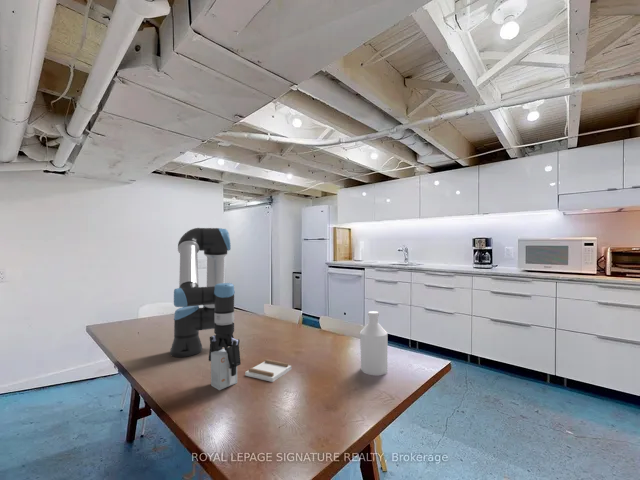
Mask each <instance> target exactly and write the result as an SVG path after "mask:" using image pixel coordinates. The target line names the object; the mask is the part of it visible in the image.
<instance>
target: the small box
mask: <svg viewBox="0 0 640 480" xmlns="http://www.w3.org/2000/svg"><path fill="white" fill-rule="evenodd" d="M233 364H234V363H233ZM229 367H230V363H229V360H228V353H227V352H226V351H225V349H224V348H222V350H219V351H214V352H211V361H210V385H211V387H213V388H215V389H217V390H218V391H221V390H224V389H225V388H228V387H231V386H233V385H235V384H238V366H237V367H236V375H235V383H233V384H231V385H229Z"/></svg>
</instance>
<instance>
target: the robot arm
mask: <svg viewBox="0 0 640 480" xmlns="http://www.w3.org/2000/svg"><path fill="white" fill-rule="evenodd" d="M177 251H178V253H179V279H178V280H179V281H178V283H179V286H178V288H174V290H173V305H174V307H176V308H177V309H175V312H174V316H173V320H174V323H173V324H174V325H173V326H174V327H173V333H174V335H173V341H172V344H171V348H170V350H169V351H170V352H169V354H170V356H171V355H172V356H171V357H173V356H175V357H174V358H186V356H187V357H191V356H195V355H197V354H200V353H202V351H203V345H202V341H201V338H200V335H199V334H200V333H199V332H200V331H204V330H205V331H206V330H207V331H208V330H213V331H214V335H212V336H211V335H210V336H209V352H208V353H209V354H208V362H211V352H214V351H219V350H222V349H225V351H226V352H227V353H228V360H229V363H230V367H229V385H231V384H233V383H235V375H236V367H237V368H238V366H239V367H240V365H241V354H240V338H238V339H236V338H234V332H235V285H234V284H233V283H232V282H231V283H230V282H225V257H226V256H227V255H228V252H229V251H231V239H230V233H229V230H228V229H226V228H221V227H220V228H219V227H195V228H192V229H190V230H189V229H188V230H187V231H186V232H185V233H184V234H183V235H182V236H181V237H180V238H179V241H178V243H177ZM200 251H202V252H203V255H204V256H205V257H206V286H199V265H198V264H199V262H198V261H199V260H198V253H199V252H200ZM200 306H202V307H200ZM233 363H234V364H233ZM233 385H234V384H233ZM231 386H232V385H231Z"/></svg>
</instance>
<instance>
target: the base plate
mask: <svg viewBox="0 0 640 480" xmlns="http://www.w3.org/2000/svg"><path fill="white" fill-rule="evenodd" d="M291 370H292V365H289V363H288V362H283V361H278V360H274V359H268V358H266V359H264V361H263V362H261V363H258V364H257V365H255V366H254V367H249V368H248V370H247V371H245V373H244V374H245V376H246V377H250V378H254V379H258V380H262V381H265V382H266V381H268V382H270V383H274V382H275V381H276V380H278V379H280V378H281V377H283V376H284V375H286V374H287V373H288V372H290V371H291Z"/></svg>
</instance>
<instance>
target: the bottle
mask: <svg viewBox="0 0 640 480" xmlns="http://www.w3.org/2000/svg"><path fill="white" fill-rule="evenodd" d="M379 313H380V312H379V311H376V310H375V311H373V310H369V311H368V312H367V315H368V323H367V324H366V325H365V326H364V327H363V328H362V329H361V330H360V332H359V339H360V341H359V342H360V343H359V344H360V345H359V346H360V371H361V372H362V373H364V374H366V375H369V376H382V375H386V374H388V336H389V335H388V331H386V330H385V329H384V328H383V326H382V325H381V324H380V323H379V315H380V314H379Z"/></svg>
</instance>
